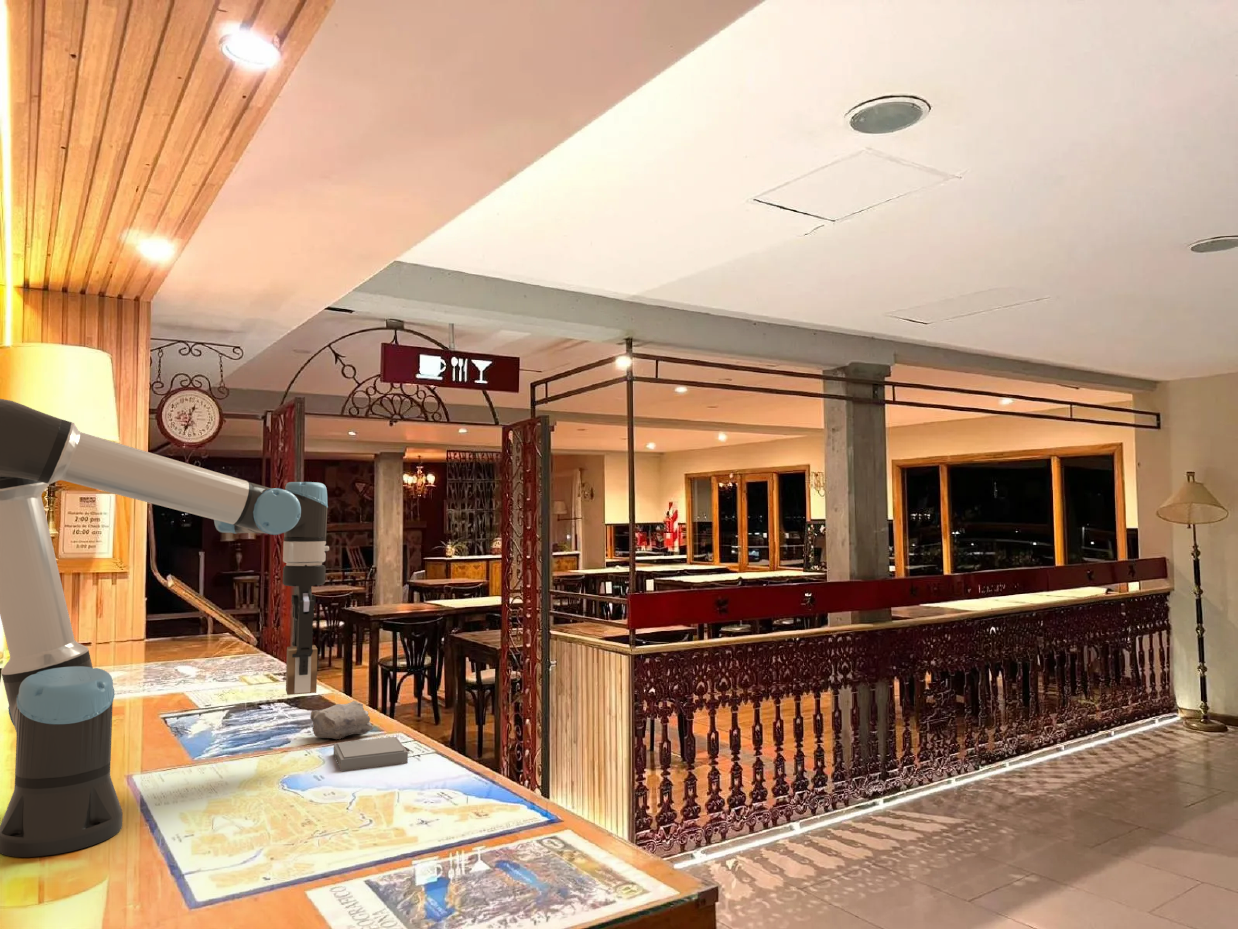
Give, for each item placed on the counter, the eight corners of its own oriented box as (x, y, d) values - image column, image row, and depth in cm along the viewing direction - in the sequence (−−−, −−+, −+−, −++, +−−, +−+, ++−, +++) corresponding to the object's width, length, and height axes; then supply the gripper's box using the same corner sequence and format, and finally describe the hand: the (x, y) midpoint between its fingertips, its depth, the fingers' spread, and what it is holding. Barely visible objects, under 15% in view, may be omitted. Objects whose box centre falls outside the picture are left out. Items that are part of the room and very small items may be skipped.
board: (407, 763, 158) (407, 750, 158) (340, 771, 153) (341, 758, 153) (396, 747, 169) (396, 735, 169) (333, 754, 164) (333, 742, 164)
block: (316, 692, 155) (317, 649, 156) (287, 695, 153) (288, 650, 154) (313, 687, 160) (315, 645, 160) (285, 690, 158) (286, 647, 158)
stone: (307, 737, 177) (307, 704, 177) (363, 729, 184) (364, 697, 184) (317, 746, 170) (318, 711, 171) (375, 737, 177) (376, 704, 178)
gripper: (330, 566, 152) (327, 697, 150) (320, 561, 168) (317, 679, 166) (286, 566, 148) (282, 700, 147) (280, 562, 165) (276, 682, 163)
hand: (301, 689), depth 157 cm, fingers closed on block, 5 cm apart
